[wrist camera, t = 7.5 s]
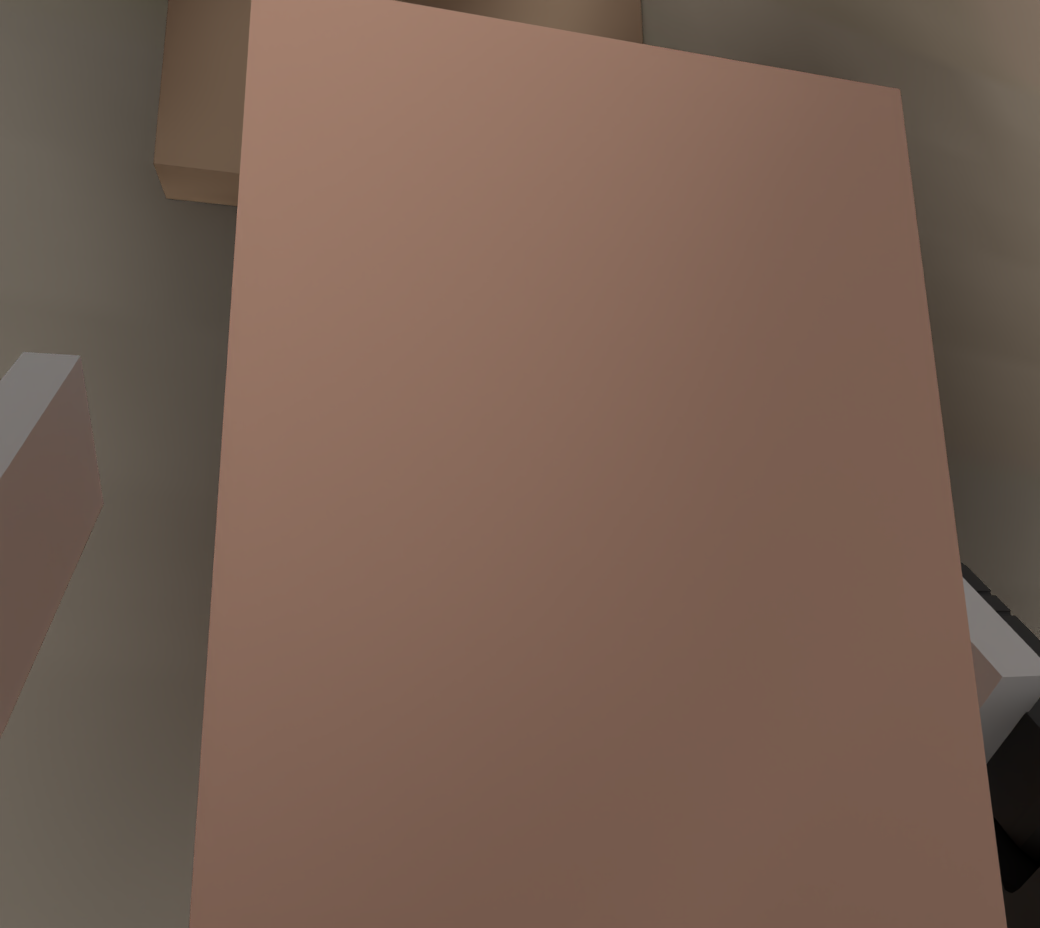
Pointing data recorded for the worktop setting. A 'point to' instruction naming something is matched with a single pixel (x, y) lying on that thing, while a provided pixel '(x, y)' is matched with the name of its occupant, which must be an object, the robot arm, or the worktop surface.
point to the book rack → (223, 65)
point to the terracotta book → (579, 498)
